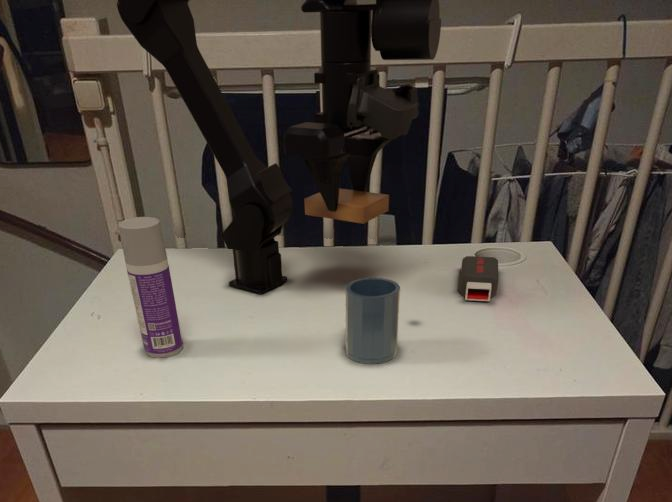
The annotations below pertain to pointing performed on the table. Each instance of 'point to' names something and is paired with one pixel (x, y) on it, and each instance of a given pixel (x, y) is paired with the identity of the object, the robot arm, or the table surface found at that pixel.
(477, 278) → the usb drive
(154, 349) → the container
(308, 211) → the wooden block
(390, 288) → the cup
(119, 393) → the table surface
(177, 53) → the robot arm
